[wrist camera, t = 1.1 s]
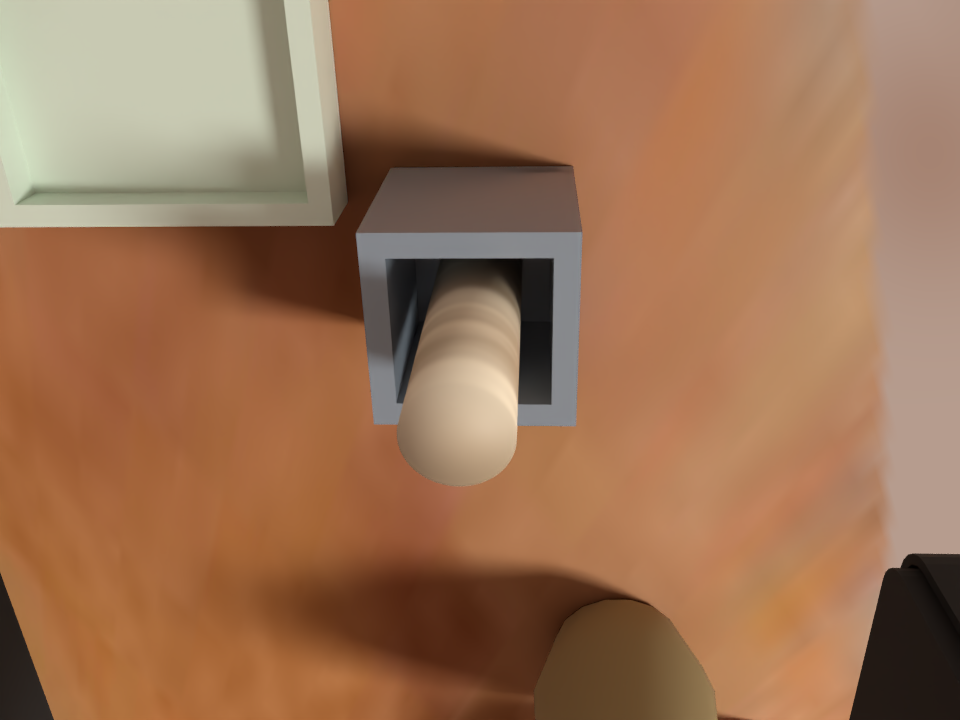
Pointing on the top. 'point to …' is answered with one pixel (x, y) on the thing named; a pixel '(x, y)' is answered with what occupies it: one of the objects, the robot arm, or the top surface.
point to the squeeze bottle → (622, 669)
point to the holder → (474, 234)
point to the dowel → (465, 374)
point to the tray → (169, 114)
